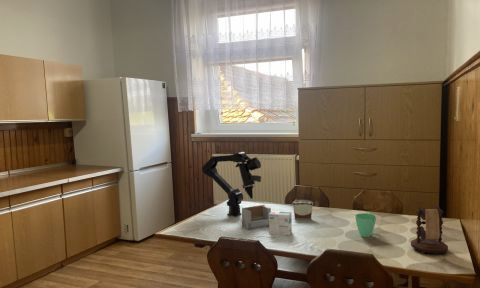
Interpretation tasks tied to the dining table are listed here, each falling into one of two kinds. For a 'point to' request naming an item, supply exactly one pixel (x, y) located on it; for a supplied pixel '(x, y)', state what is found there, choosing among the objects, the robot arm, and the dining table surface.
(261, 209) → the cover
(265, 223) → the grey u-channel
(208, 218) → the dining table surface
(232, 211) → the robot arm
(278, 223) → the light bulb box
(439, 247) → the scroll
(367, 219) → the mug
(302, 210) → the food container
